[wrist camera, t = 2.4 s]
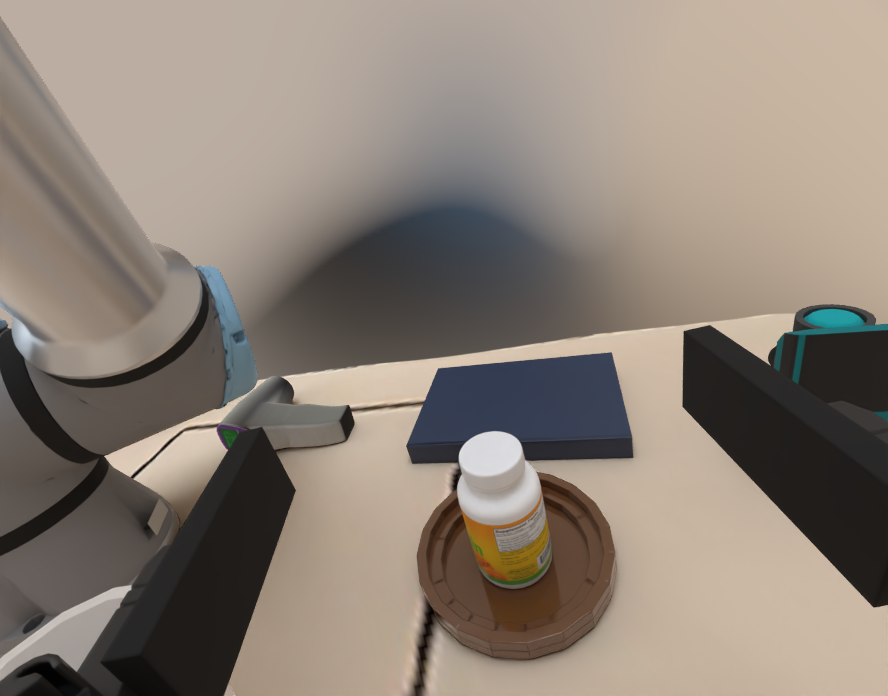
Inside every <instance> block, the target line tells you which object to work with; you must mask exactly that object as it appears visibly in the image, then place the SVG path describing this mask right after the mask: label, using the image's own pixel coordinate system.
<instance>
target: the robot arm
mask: <svg viewBox="0 0 888 696" xmlns="http://www.w3.org/2000/svg"><path fill="white" fill-rule="evenodd" d="M0 306H1V307H2V308H3V309H4V310H6V311H7V312H8V313H10V314H11V315H13V317H12V329H9V328H7V326H8V324H7V322H6V321H5V320H1V319H0V659H1V658H2V657H3V656H4V655H5V654H6V653H8V652H9V651H11V650H12V649H13V648H15V647H16V646H17V645H19V644H20V643H21V642H23V641H24V640H26V639H27V638H28V637H30V636H31V635H32V634H34V633H35V632H36V631H38V630H39V629H41V628H42V627H43V626H45V625H46V624H47V623H49V622H50V621H51V620H53V619H54V618H56V617H57V616H58V615H60V614H61V613H62V612H64V611H66V610H69V609H71V608H73V607H75V606H77V605H79V604H81V603H83V602H85V601H87V600H89V599H92V598H94V597H96V596H98V595H100V594H102V593H104V592H106V591H108V590H110V589H112V588H115V587H122V586H129V585H132V586H131V590H130V591H128V592H127V594H126V595H125V597H124V598H123V600H122V602H121V603H120V608H118V609H116V611H115V613H114V614H113V616H112V617H111V619H110V620H109V622H108V624H107V625H106V627H105V628H104V630H103V631H102V633H101V634H100V636H99V638H98V639H97V641H96V642H95V644H94V645H93V647H92V649H91V650H90V652H89V653H88V655H87V656H86V658H85V660H84V661H83V663H82V664H81V666H80V667H79V669H78V671H77V672H76V671H75V670H74V669H73V668H72V667H71V666H70V665H68V664H67V663H66V662H65V661H64V660H63V659H62V658H61V657H60V656H58V655H55V654H50V653H48V654H44V655H41V656H38V657H34V658H33V659H31V660H29V661H27V662H26V663H24V664H22V665H21V666H19V667H17V668H16V669H15V670H13V671H12V672H11V673H10V674H8V675H7V676H6V677H5V678H3V679H2V680H1V681H0V696H224V694H225V692H226V689H227V686H228V683H229V680H230V677H231V674H232V672H233V669H234V666H235V663H236V660H237V657H238V654H239V652H240V649H241V646H242V643H243V640H244V637H245V634H246V631H247V629H248V626H249V623H250V620H251V617H252V614H253V611H254V609H255V606H256V603H257V600H258V597H259V594H260V591H261V589H262V586H263V583H264V580H265V577H266V574H267V571H268V568H269V566H270V563H271V560H272V557H273V554H274V551H275V548H276V546H277V543H278V540H279V537H280V534H281V531H282V528H283V526H284V523H285V520H286V517H287V514H288V511H289V508H290V505H291V503H292V500H293V497H294V494H295V491H296V490H295V488H294V486H293V484H292V482H291V480H290V478H289V477H288V475H287V473H286V471H285V469H284V467H283V465H282V463H281V461H280V459H279V458H278V456H277V454H276V452H275V450H274V448H273V446H272V444H271V442H270V440H269V439H268V437H267V435H266V433H265V431H264V429H263V427H259V428H255V429H251V430H246V431H242V432H239V433H238V435H237V437H236V438H235V440H234V442H233V443H232V445H231V447H230V448H229V450H228V451H227V453H226V455H225V456H224V458H223V460H222V461H221V463H220V465H219V466H218V468H217V470H216V471H215V473H214V475H213V476H212V478H211V480H210V481H209V483H208V485H207V486H206V488H205V489H204V491H203V493H202V494H201V496H200V498H199V499H198V501H197V503H196V504H195V506H194V508H193V509H192V511H191V513H190V514H189V516H188V518H187V519H186V521H185V523H184V524H183V526H182V527H181V529H180V531H179V518H178V516H177V514H176V512H175V511H174V509H173V508H172V507H171V505H170V504H169V503H168V502H167V501H166V500H165V499H164V498H163V497H162V496H161V495H159V494H158V493H156V492H154V491H152V490H151V489H149V488H147V487H146V486H144V485H142V484H141V483H139V482H137V481H135V480H134V479H132V478H130V477H129V476H127V475H125V474H124V473H122V472H120V471H118V470H117V469H115V468H114V467H112V466H111V464H110V463H109V462H108V461H107V459H106V458H105V457H104V456H105V455H108V454H110V453H112V452H115V451H117V450H119V449H122V448H124V447H126V446H129V445H131V444H133V443H136V442H138V441H140V440H143V439H145V438H147V437H150V436H152V435H154V434H156V433H159V432H161V431H163V430H166V429H168V428H170V427H173V426H175V425H177V424H180V423H182V422H184V421H187V420H189V419H192V418H194V417H196V416H199V415H201V414H204V413H206V412H208V411H211V410H213V409H220V408H223V407H224V406H226V405H227V403H228V402H230V401H232V400H234V399H236V398H239V397H241V396H243V395H245V394H247V393H248V392H250V391H251V390H252V389H253V388H254V387H255V385H256V383H257V379H258V372H257V367H256V363H255V360H254V356H253V353H252V350H251V347H250V344H249V341H248V339H247V337H246V335H245V334H244V328H243V326H242V322H241V319H240V316H239V313H238V311H237V308H236V306H235V303H234V301H233V298H232V296H231V294H230V291H229V289H228V287H227V284H226V282H225V280H224V278H223V276H222V275H221V273H220V271H219V270H218V269H217V268H215V267H212V266H205V267H202V266H196V267H193V266H192V265H191V263H190V262H189V261H188V260H187V259H186V258H185V257H184V256H183V255H181V254H180V253H178V252H177V251H175V250H173V249H171V248H169V247H166V246H163V245H160V244H156V243H151V242H150V240H149V239H148V237H147V236H146V234H145V233H144V231H143V230H142V228H141V227H140V225H139V224H138V222H137V221H136V220H135V218H134V216H133V215H132V213H131V212H130V210H129V209H128V207H127V206H126V204H125V203H124V201H123V200H122V199H121V197H120V195H119V194H118V192H117V191H116V189H115V188H114V186H113V185H112V183H111V182H110V181H109V179H108V177H107V176H106V174H105V173H104V171H103V170H102V168H101V167H100V166H99V164H98V162H97V161H96V160H95V158H94V156H93V155H92V153H91V152H90V151H89V149H88V147H87V146H86V144H85V143H84V141H83V140H82V138H81V137H80V135H79V134H78V132H77V131H76V129H75V128H74V127H73V125H72V123H71V122H70V120H69V119H68V117H67V116H66V115H65V113H64V112H63V110H62V109H61V107H60V105H59V104H58V102H57V101H56V100H55V98H54V97H53V95H52V94H51V92H50V91H49V89H48V88H47V86H46V85H45V83H44V82H43V80H42V79H41V77H40V76H39V74H38V73H37V71H36V70H35V68H34V67H33V66H32V64H31V62H30V61H29V59H28V58H27V56H26V55H25V53H24V52H23V50H22V49H21V47H20V46H19V44H18V43H17V41H16V40H15V38H14V37H13V35H12V34H11V32H10V31H9V29H8V28H7V26H6V25H5V23H4V22H3V20H2V19H1V17H0ZM682 407H683V408H684V409H685V410H686V411H687V412H688V413H689V414H690V415H691V416H692V417H693V418H694V419H695V420H696V421H697V422H698V423H699V424H700V426H701V427H702V428H703V429H704V430H705V431H706V432H707V433H708V434H709V435H710V436H711V437H712V438H713V439H714V440H715V441H716V442H717V443H718V444H719V446H720V447H721V448H722V449H723V450H724V451H725V452H726V453H727V454H728V455H729V456H730V457H731V458H732V459H733V460H734V461H735V462H736V463H737V464H738V465H739V467H740V468H741V469H742V470H743V471H744V472H745V473H746V474H747V475H748V476H749V477H750V478H751V479H752V480H753V481H754V482H755V483H756V484H757V485H758V486H759V488H760V489H761V490H762V491H763V492H764V493H765V494H766V495H767V496H768V497H769V498H770V499H771V500H772V501H773V502H774V503H775V504H776V505H777V506H778V508H779V509H780V510H781V511H782V512H783V513H784V514H785V515H786V516H787V517H788V518H789V519H790V520H791V521H792V522H793V523H794V524H795V525H796V526H797V527H798V529H799V530H800V531H801V532H802V533H803V534H804V535H805V536H806V537H807V538H808V539H809V540H810V541H811V542H812V543H813V544H814V545H815V546H816V547H817V548H818V550H819V551H820V552H821V553H822V554H823V555H824V556H825V557H826V558H827V559H828V560H829V561H830V562H831V563H832V564H833V565H834V566H835V567H836V568H837V570H838V571H839V572H840V573H841V574H842V575H843V576H844V577H845V578H846V579H847V580H848V581H849V582H850V583H851V584H852V585H853V586H854V587H855V588H856V589H857V591H858V592H859V593H860V594H861V595H862V596H863V597H864V598H865V599H866V600H867V601H868V602H869V603H870V604H871V605H872V606H873V607H880V606H885V605H888V421H886V420H885V419H883V418H881V417H880V416H878V415H877V414H875V413H873V412H872V411H869V410H866V409H864V408H861V407H858V406H855V405H853V404H850V403H847V402H845V401H842V400H841V401H837V402H832V403H825V402H824V401H822V400H821V399H819V398H818V397H817V396H815V395H814V394H812V393H811V392H809V391H808V390H806V389H805V388H803V387H802V386H800V385H799V384H797V383H796V382H794V381H793V380H791V379H790V378H788V377H787V376H785V375H784V374H782V373H781V372H779V371H778V370H776V369H775V368H773V367H772V366H770V365H769V364H767V363H766V362H764V361H763V360H761V359H760V358H758V357H757V356H755V355H754V354H752V353H751V352H749V351H748V350H746V349H745V348H743V347H742V346H740V345H739V344H737V343H736V342H734V341H733V340H731V339H730V338H728V337H727V336H725V335H724V334H722V333H721V332H719V331H718V330H716V329H715V328H713V327H712V326H710V325H709V326H704V327H700V328H695V329H691V330H687V331H684V345H683V406H682Z"/></svg>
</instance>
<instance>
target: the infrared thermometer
mask: <svg viewBox="0 0 888 696" xmlns="http://www.w3.org/2000/svg"><path fill="white" fill-rule="evenodd" d="M293 397H294V390H293V387H292V386H291V384H290V383H289V382H288V381H287V380H285V379H284V378H282V377H278V376H271V377H269V378H268V379H267V380H266V381H264V382H263V383H262V384H261V385H260V386H258V387H257V388H256V389H255V390H253V391H252V392H251V393H250V394H249V395H247V396H246V397H245V398H244V399H242V400H241V401H240V402H239V403H238V404H237V405H236V406H235V407H234V408H233V409H232V411H231V412H230V413H229V414H228V415H227V416H226V417H225V418H224V419H223V420H222V422H221V423H220V424H219V425H218V427H217V433H218V436H219V438H220V440H221V442H222V443H223V445H224V446H225V448H226V449H227V450H229V448H230V447H231V445H232V443H233V442H234V440H235V438H236V437H237V435H238V433H239V432H242V431H246V430H251V429H255V428H259V427H263V429H264V431H265V433H266V435H267V437H268V439H269V440H270V442H271V444H272V446H273V448H274V450H276V449H281V448H287V447H308V446H321V445H329V444H334V443H339V442H343V441H345V440H347V439H348V437H349V435H350V432H351V430H352V428H353V426H354V419H353V416H352V412H351V409H350V407H349V405H344V406H321V405H312V404H299V405H292V404H291V401H292V399H293Z"/></svg>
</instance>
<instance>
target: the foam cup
mask: <svg viewBox="0 0 888 696" xmlns="http://www.w3.org/2000/svg"><path fill="white" fill-rule="evenodd" d="M131 586H132V585H129V586H122V587H115V588H112V589H110V590H108V591H106V592H104V593H102V594H100V595H98V596H96V597H94V598H92V599H89V600H87V601H85V602H83V603H81V604H79V605H77V606H75V607H73V608H71V609H69V610H66V611H64V612H62V613H61V614H60V615H58V616H57V617H56V618H54V619H53V620H51V621H50V622H49V623H47V624H46V625H45V626H43V627H42V628H41V629H39V630H38V631H36V632H35V633H34V634H32V635H31V636H30V637H28V638H27V639H26V640H24V641H23V642H21V643H20V644H19V645H17V646H16V647H15V648H13V649H12V650H11V651H9V652H8V653H6V654H5V655H4V656H3V657H2V658H1V659H0V681H1V680H2V679H3V678H5V677H6V676H7V675H8V674H10V673H11V672H12V671H13V670H15V669H16V668H17V667H19V666H21V665H22V664H24V663H26V662H27V661H29V660H31V659H33V658H34V657H38V656H41V655H44V654H48V653H50V654H55V655H58V656H60V657H61V658H62V659H63V660H64V661H65V662H66V663H67V664H68V665H70V666H71V667H72V668H73V669H74V670H75V671H76V672H77V671H78V669H79V667H80V666H81V664H82V663H83V661H84V660H85V658H86V656H87V655H88V653H89V652H90V650H91V649H92V647H93V645H94V644H95V642H96V641H97V639H98V638H99V636H100V634H101V633H102V631H103V630H104V628H105V627H106V625H107V624H108V622H109V620H110V619H111V617H112V616H113V614H114V613H115V611H116V609H118V608H120V603H121V602H122V600H123V598H124V597H125V595H126V594H127V592H128V591H130V590H131ZM224 696H236V695H235V693H234V691H233V689H232V687H231V685H230V683H228V686H227V689H226V692H225V694H224Z"/></svg>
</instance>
